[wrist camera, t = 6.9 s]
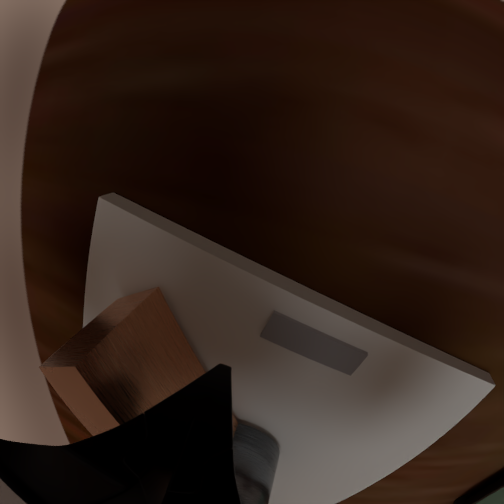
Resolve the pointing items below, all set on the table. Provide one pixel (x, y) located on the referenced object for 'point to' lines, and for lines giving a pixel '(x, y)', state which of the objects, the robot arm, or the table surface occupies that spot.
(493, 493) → the juicer
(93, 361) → the lever
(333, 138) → the table surface
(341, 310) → the base plate
